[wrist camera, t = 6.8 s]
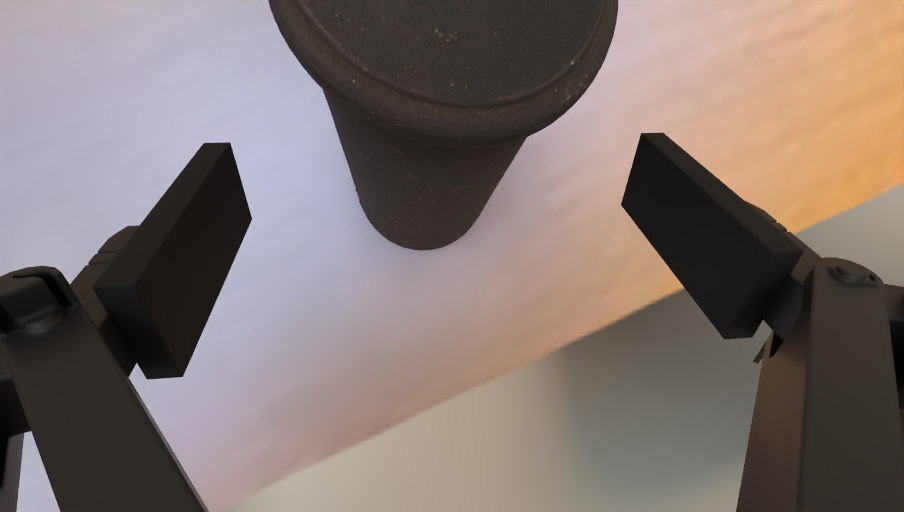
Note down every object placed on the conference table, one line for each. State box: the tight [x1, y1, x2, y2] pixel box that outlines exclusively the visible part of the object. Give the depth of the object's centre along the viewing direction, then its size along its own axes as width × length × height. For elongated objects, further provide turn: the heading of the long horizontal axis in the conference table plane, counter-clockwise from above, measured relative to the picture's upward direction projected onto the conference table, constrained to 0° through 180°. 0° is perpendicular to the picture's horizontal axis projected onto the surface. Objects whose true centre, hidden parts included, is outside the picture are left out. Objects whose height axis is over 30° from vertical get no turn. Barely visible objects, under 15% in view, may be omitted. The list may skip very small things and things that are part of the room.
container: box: [268, 0, 618, 250], centre depth 20 cm, size 9×9×20 cm
